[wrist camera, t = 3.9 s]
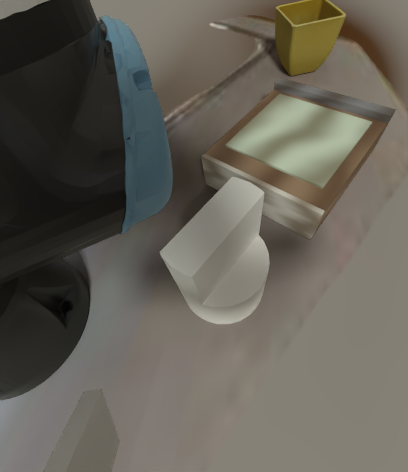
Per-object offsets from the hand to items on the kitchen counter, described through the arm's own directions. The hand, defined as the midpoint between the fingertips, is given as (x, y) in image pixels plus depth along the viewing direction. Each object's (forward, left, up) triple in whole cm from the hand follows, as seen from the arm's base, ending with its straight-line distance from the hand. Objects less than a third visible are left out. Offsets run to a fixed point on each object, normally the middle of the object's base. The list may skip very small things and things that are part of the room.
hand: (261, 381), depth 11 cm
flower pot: (-23, +50, -15) cm, 57 cm away
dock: (-11, +27, -14) cm, 32 cm away
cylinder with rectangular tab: (-8, +6, -15) cm, 18 cm away
